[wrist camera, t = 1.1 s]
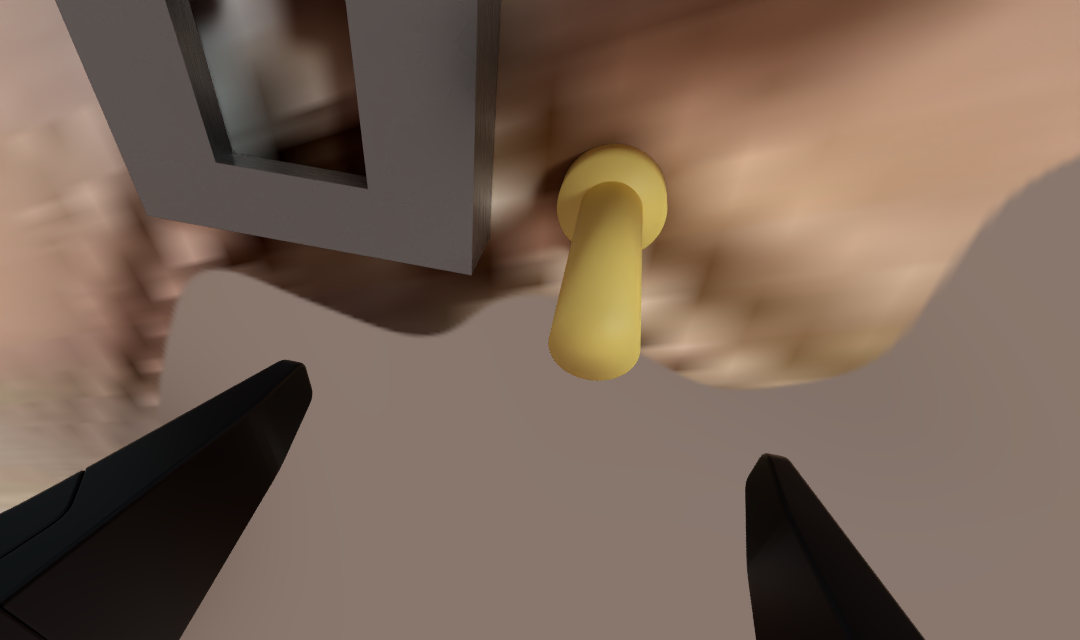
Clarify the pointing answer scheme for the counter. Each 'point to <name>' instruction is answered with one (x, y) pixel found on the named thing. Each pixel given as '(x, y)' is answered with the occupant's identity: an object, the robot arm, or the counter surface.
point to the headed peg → (605, 258)
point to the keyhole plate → (302, 191)
